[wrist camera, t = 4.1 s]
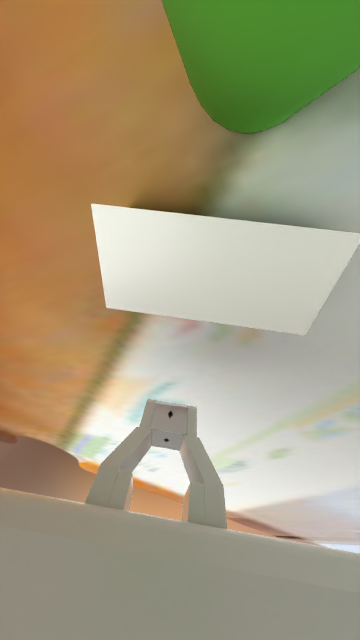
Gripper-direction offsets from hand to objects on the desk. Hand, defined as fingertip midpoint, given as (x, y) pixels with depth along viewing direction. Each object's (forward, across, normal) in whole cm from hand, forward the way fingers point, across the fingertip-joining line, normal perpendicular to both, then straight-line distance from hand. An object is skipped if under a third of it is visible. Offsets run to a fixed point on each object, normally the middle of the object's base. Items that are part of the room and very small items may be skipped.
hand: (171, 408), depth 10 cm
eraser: (+4, -1, -8) cm, 9 cm away
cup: (+4, -1, -16) cm, 16 cm away
